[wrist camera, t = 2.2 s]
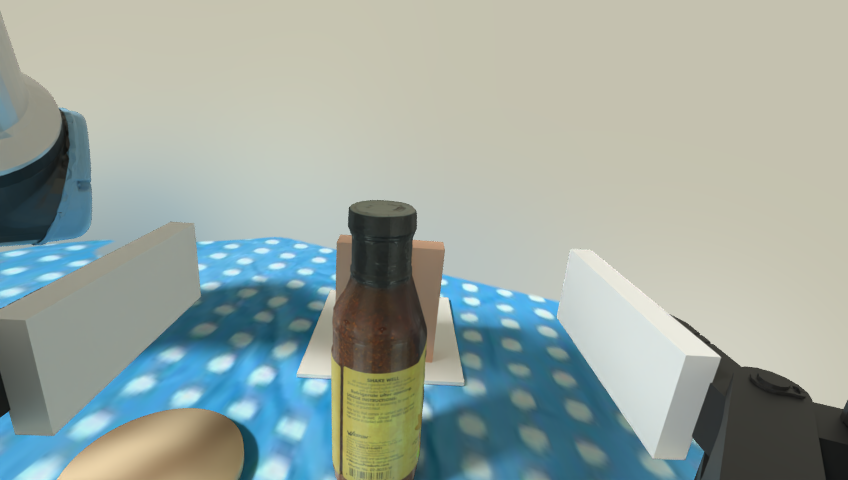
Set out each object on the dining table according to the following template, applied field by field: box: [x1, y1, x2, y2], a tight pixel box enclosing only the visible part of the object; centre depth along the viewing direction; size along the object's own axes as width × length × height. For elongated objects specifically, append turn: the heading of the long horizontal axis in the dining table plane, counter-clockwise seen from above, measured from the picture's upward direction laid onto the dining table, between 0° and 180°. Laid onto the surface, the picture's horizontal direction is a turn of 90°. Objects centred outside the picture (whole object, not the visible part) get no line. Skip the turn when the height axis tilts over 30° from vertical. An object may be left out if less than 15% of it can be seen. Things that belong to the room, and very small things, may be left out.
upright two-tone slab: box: [335, 235, 445, 363], centre depth 42 cm, size 2×10×12 cm, turn 92°
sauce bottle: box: [331, 200, 427, 480], centre depth 28 cm, size 7×6×20 cm
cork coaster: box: [57, 408, 244, 480], centre depth 29 cm, size 11×11×1 cm
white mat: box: [297, 290, 464, 386], centre depth 49 cm, size 18×16×1 cm
